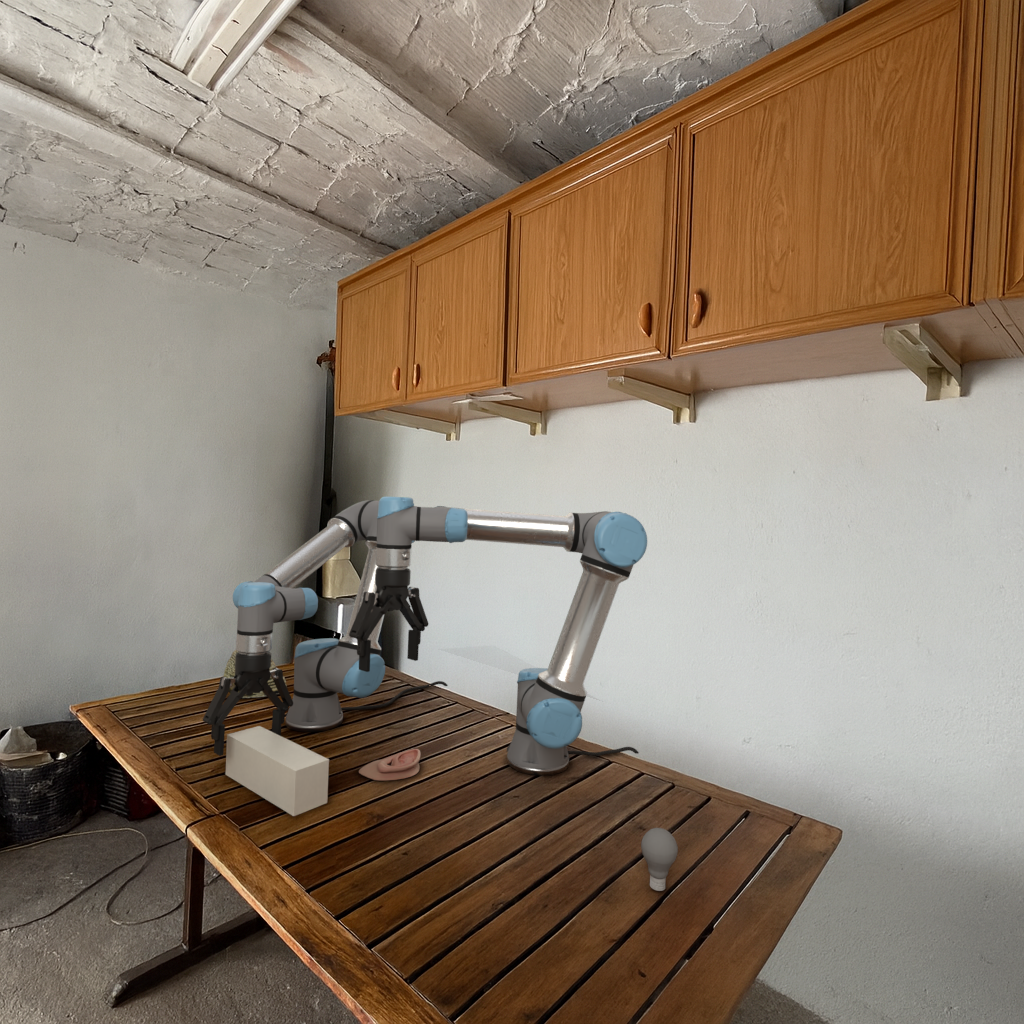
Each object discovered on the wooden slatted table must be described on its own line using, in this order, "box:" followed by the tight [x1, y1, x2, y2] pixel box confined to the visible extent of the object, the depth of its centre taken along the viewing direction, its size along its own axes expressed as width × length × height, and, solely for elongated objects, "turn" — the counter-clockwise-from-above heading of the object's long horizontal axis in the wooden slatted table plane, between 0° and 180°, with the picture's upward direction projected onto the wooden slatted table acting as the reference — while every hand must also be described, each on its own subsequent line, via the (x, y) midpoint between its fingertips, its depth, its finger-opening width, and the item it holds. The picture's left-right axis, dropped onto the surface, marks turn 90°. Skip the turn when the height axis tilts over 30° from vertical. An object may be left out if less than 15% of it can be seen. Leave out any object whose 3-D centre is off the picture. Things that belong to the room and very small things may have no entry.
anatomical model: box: [358, 748, 422, 782], centre depth 147 cm, size 13×4×12 cm
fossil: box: [222, 649, 288, 699], centre depth 198 cm, size 9×18×15 cm, turn 132°
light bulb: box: [640, 827, 679, 892], centre depth 106 cm, size 6×6×10 cm
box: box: [225, 725, 330, 817], centre depth 137 cm, size 27×8×9 cm, turn 51°
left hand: (248, 746), depth 143 cm, fingers open, 13 cm apart
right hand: (389, 664), depth 138 cm, fingers open, 13 cm apart
